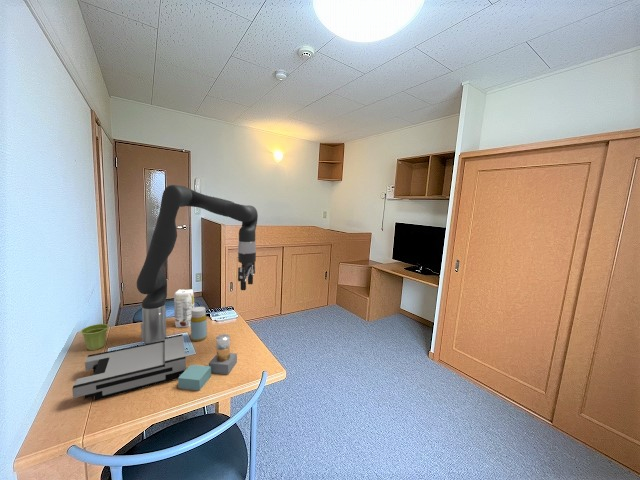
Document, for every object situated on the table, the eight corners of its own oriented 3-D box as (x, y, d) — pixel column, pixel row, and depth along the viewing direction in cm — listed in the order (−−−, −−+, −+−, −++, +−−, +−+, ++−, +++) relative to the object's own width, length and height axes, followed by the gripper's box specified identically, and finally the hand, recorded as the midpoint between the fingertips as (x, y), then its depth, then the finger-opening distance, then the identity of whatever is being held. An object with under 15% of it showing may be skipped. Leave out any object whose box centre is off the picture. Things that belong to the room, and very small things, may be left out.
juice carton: (191, 327, 139) (190, 293, 137) (173, 328, 138) (172, 293, 136) (195, 321, 147) (194, 288, 144) (179, 322, 145) (178, 288, 143)
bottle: (209, 337, 130) (209, 308, 128) (196, 343, 124) (196, 313, 122) (201, 333, 134) (200, 305, 132) (188, 339, 128) (187, 309, 126)
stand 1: (178, 388, 94) (178, 377, 94) (191, 374, 102) (191, 364, 102) (199, 390, 94) (199, 380, 93) (211, 376, 102) (211, 366, 101)
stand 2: (208, 372, 104) (208, 362, 103) (218, 360, 112) (218, 351, 111) (228, 374, 103) (228, 364, 102) (236, 362, 111) (236, 353, 110)
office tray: (89, 372, 102) (87, 352, 101) (183, 351, 118) (182, 334, 117) (74, 408, 84) (71, 385, 83) (186, 378, 100) (185, 358, 99)
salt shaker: (214, 361, 104) (213, 339, 103) (220, 354, 109) (220, 333, 108) (226, 362, 104) (226, 340, 103) (231, 355, 109) (231, 334, 108)
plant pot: (111, 339, 125) (109, 322, 124) (108, 349, 117) (107, 330, 116) (84, 344, 120) (83, 326, 119) (80, 354, 112) (78, 335, 111)
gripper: (245, 248, 123) (244, 282, 125) (231, 253, 109) (232, 291, 111) (260, 249, 123) (260, 283, 125) (249, 254, 108) (249, 292, 111)
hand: (246, 287), depth 118 cm, fingers open, 8 cm apart
